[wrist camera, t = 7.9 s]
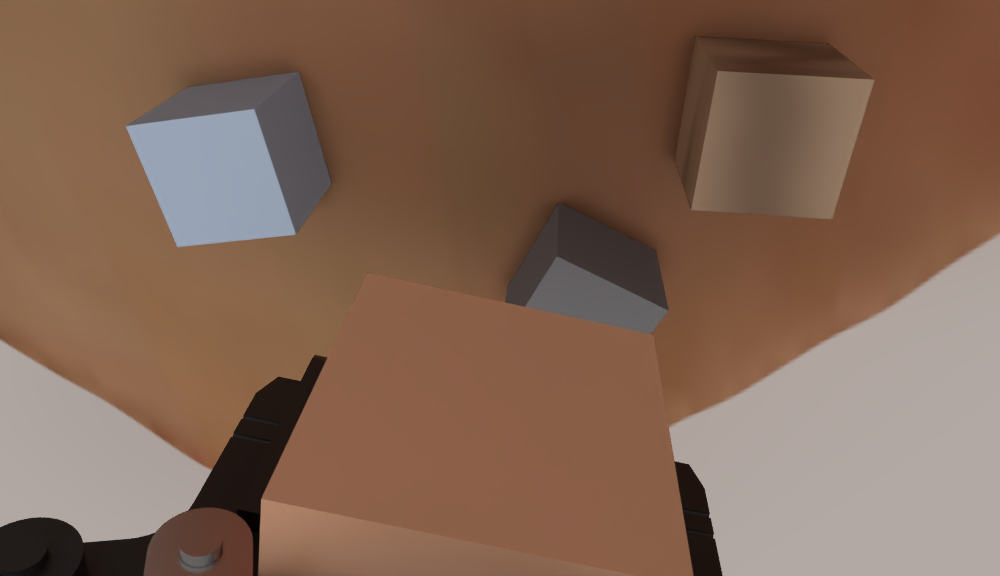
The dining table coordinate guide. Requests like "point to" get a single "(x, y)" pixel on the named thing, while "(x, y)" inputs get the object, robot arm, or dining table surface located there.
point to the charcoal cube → (590, 274)
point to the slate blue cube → (233, 159)
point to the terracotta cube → (476, 447)
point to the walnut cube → (769, 126)
